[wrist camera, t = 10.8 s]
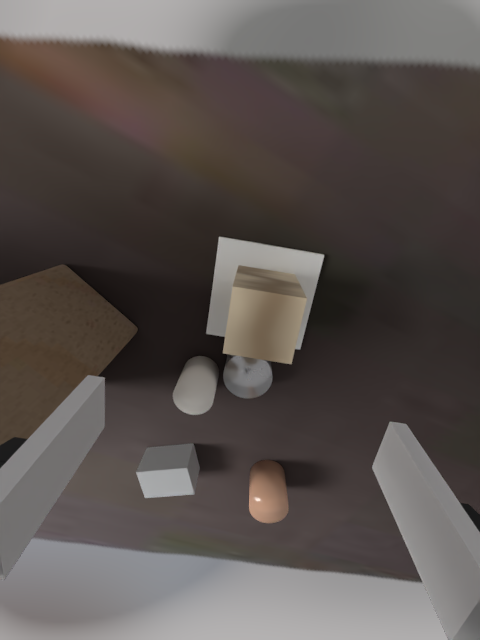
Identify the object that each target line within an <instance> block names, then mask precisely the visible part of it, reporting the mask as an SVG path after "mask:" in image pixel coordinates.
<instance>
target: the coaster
mask: <svg viewBox="0 0 480 640" xmlns="http://www.w3.org/2000/svg"><path fill="white" fill-rule="evenodd" d="M323 259H324V254H320V253H314V252H309V251H303V250H297V249H291V248H285V247H280V246H274V245H268V244H262V243H256V242H251V241H245V240H239V239H233V238H227V237H222V236H220V237H219V242H218V249H217V256H216V264H215V271H214V279H213V286H212V293H211V301H210V308H209V316H208V323H207V330H206V334H210V335H216V336H222V337H225V334H226V327H227V321H228V314H229V307H230V300H231V294H232V287H233V283H234V280H235V276H236V272H237V269H238V265H241V266H247V267H253V268H259V269H265V270H271V271H278V272H284V273H290V274H295V275H296V277H297V279H298V281H299V283H300V285H301V287H302V289H303V291H304V293H305V295H306V297H307V301H306V305H305V310H304V314H303V318H302V322H301V326H300V331H299V335H298V339H297V343H296V347H295V349H299V350H300V348H301V344H302V341H303V337H304V333H305V329H306V325H307V321H308V317H309V313H310V309H311V305H312V302H313V298H314V294H315V290H316V286H317V282H318V278H319V274H320V270H321V266H322V262H323Z"/></svg>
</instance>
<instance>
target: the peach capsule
mask: <svg viewBox="0 0 480 640" xmlns="http://www.w3.org/2000/svg"><path fill="white" fill-rule="evenodd" d="M249 510H250V513H251V515H252V516H253V517H254V518H255V519H256V520H258V521H260V522H264V523H275V522H278V521H280V520H282V519H283V518H284V517H285V516H286V515H287V513H288V510H289V506H288V497H287V489H286V480H285V472H284V469H283V467H282V466H281V465H280V464H279V463H277V462H275V461H272V460H262V461H259V462H257V463H255V464H254V465H253V466H252V468H251V470H250V489H249Z"/></svg>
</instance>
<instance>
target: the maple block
mask: <svg viewBox="0 0 480 640" xmlns="http://www.w3.org/2000/svg"><path fill="white" fill-rule="evenodd" d="M306 301H307V297H306V295H305V293H304V291H303V289H302V287H301V285H300V283H299V281H298V279H297V277H296V275H295V274H290V273H284V272H278V271H271V270H265V269H259V268H253V267H247V266H241V265H238V269H237V272H236V276H235V280H234V283H233V287H232V294H231V300H230V307H229V314H228V321H227V327H226V334H225V341H224V347H223V354H230V355H236V356H242V357H248V358H255V359H261V360H267V361H273V362H280V363H286V364H292V360H293V356H294V351H295V347H296V343H297V339H298V335H299V331H300V326H301V322H302V318H303V314H304V310H305V305H306Z"/></svg>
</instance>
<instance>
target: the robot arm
mask: <svg viewBox="0 0 480 640" xmlns="http://www.w3.org/2000/svg"><path fill="white" fill-rule="evenodd" d="M104 427H105V378H104V377H98V376H91V375H88V376H87V377H86V378H85V379H84V380H83V381H82V382H81V383H80V384H79V385H78V386H77V387H76V388H75V389H74V390H73V392H72V393H71V394H70V395H69V396H68V397H67V398H66V399H65V400H64V401H63V402H62V403H61V404H60V405H59V406H58V407H57V409H56V410H55V411H54V412H53V413H52V414H51V415H50V416H49V417H48V418H47V419H46V420H45V421H44V422H43V423H42V425H41V426H40V427H39V428H38V429H37V430H36V431H35V432H34V433H33V434H32V435H31V436H30V437H29V438H28V439H25V438H18V437H13V438H12V439H10V440H8V441H7V442H5V443H3V444H1V445H0V580H5V579H6V577H7V576H8V574H9V573H10V571H11V569H12V568H13V567H14V565H15V564H16V562H17V561H18V559H19V557H20V556H21V554H22V552H23V551H24V550H25V548H26V547H27V545H28V544H29V542H30V541H31V539H32V538H33V536H34V534H35V533H36V531H37V530H38V528H39V527H40V525H41V524H42V522H43V521H44V519H45V518H46V516H47V515H48V513H49V511H50V510H51V508H52V507H53V505H54V504H55V502H56V501H57V499H58V498H59V496H60V495H61V493H62V492H63V490H64V488H65V487H66V485H67V484H68V482H69V481H70V479H71V478H72V476H73V475H74V473H75V472H76V470H77V469H78V467H79V465H80V464H81V462H82V461H83V459H84V458H85V456H86V455H87V453H88V452H89V450H90V449H91V447H92V446H93V444H94V442H95V441H96V439H97V438H98V436H99V435H100V433H101V432H102V430H103V429H104ZM372 469H373V471H374V473H375V475H376V478H377V480H378V482H379V484H380V487H381V489H382V491H383V494H384V496H385V498H386V500H387V503H388V505H389V507H390V509H391V512H392V514H393V516H394V518H395V521H396V523H397V525H398V527H399V530H400V532H401V534H402V537H403V539H404V541H405V543H406V546H407V548H408V550H409V552H410V555H411V557H412V559H413V561H414V564H415V566H416V568H417V570H418V573H419V575H420V577H421V580H422V582H423V584H424V586H425V589H426V591H427V593H428V595H429V598H430V600H431V602H432V604H433V607H434V609H435V611H436V614H437V616H438V618H439V620H440V622H441V625H442V627H443V629H444V632H445V634H446V636H447V638H448V640H480V515H479V514H478V513H477V512H476V511H475V510H474V509H473V508H472V507H471V506H470V505H469V504H464V503H459V501H458V500H457V498H456V497H455V495H454V494H453V492H452V491H451V489H450V488H449V486H448V485H447V483H446V482H445V480H444V479H443V478H442V476H441V475H440V473H439V472H438V470H437V469H436V467H435V466H434V464H433V463H432V461H431V460H430V458H429V457H428V455H427V454H426V452H425V451H424V450H423V448H422V447H421V445H420V444H419V442H418V441H417V439H416V438H415V436H414V435H413V433H412V432H411V430H410V429H409V427H408V426H407V424H402V423H396V422H390V423H389V425H388V428H387V430H386V433H385V435H384V438H383V440H382V443H381V445H380V448H379V450H378V453H377V456H376V458H375V461H374V463H373V466H372Z"/></svg>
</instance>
